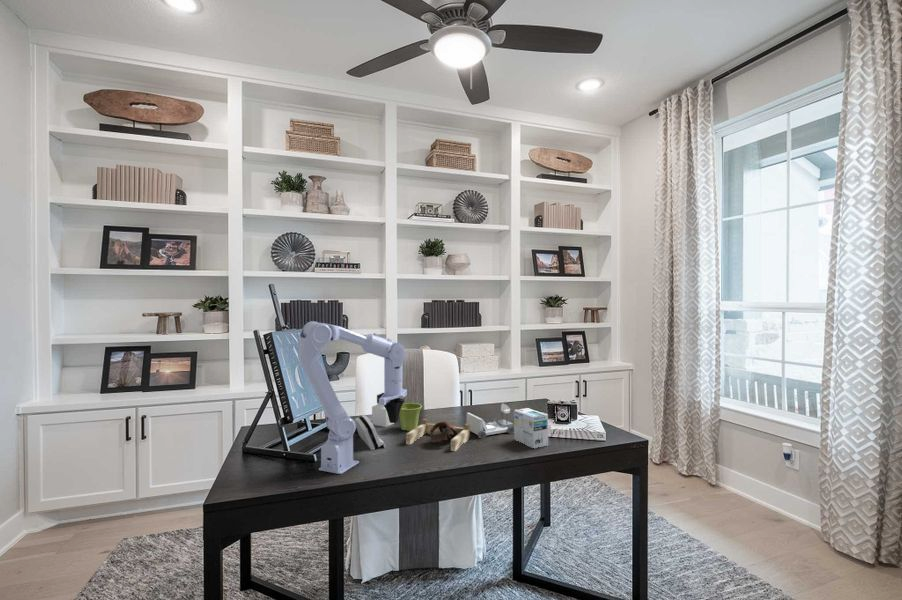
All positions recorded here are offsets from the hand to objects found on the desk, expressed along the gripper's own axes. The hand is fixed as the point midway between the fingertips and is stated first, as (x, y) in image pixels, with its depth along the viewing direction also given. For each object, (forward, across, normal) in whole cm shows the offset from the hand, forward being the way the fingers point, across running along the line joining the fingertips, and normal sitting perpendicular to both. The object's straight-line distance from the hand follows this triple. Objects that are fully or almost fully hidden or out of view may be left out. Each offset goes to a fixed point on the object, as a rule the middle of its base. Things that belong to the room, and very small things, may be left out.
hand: (393, 422), depth 143 cm
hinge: (+11, +7, +14) cm, 19 cm away
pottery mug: (+11, +18, -10) cm, 23 cm away
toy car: (+11, +36, -22) cm, 43 cm away
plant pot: (+11, +26, +8) cm, 29 cm away
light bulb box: (+11, +28, -38) cm, 48 cm away
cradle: (+10, +17, -8) cm, 21 cm away
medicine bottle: (+11, +28, +20) cm, 36 cm away
